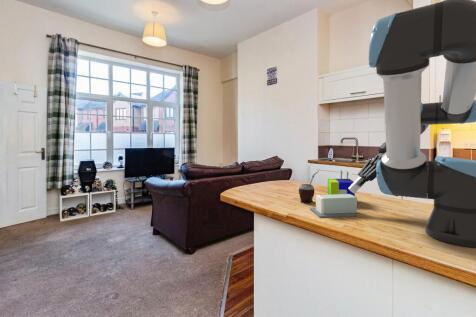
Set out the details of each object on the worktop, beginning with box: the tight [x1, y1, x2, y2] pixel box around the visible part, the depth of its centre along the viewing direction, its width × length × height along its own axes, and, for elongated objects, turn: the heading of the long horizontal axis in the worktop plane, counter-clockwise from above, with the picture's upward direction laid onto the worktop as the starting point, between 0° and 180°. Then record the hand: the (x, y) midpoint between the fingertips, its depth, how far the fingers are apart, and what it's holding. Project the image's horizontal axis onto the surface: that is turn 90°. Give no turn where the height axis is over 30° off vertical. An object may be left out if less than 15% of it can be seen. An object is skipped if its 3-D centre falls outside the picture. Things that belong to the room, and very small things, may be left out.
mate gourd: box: [298, 170, 320, 204], centre depth 118 cm, size 8×8×15 cm
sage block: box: [315, 194, 358, 214], centre depth 101 cm, size 6×6×14 cm
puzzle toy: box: [327, 178, 356, 197], centre depth 117 cm, size 10×10×10 cm
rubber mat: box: [309, 207, 357, 219], centre depth 101 cm, size 14×11×1 cm
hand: (351, 190), depth 100 cm, fingers closed
